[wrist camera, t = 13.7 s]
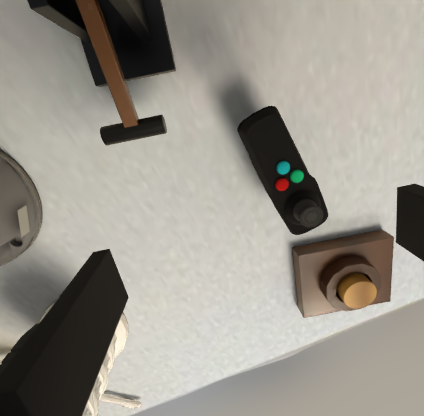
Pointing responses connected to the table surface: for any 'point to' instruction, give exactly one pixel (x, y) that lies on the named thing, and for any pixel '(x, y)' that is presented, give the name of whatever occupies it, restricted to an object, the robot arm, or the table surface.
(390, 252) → the switch block
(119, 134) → the lever
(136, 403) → the key
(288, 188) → the controller
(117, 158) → the table surface
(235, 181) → the table surface
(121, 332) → the decorative container
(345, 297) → the power button
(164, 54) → the switch bracket
